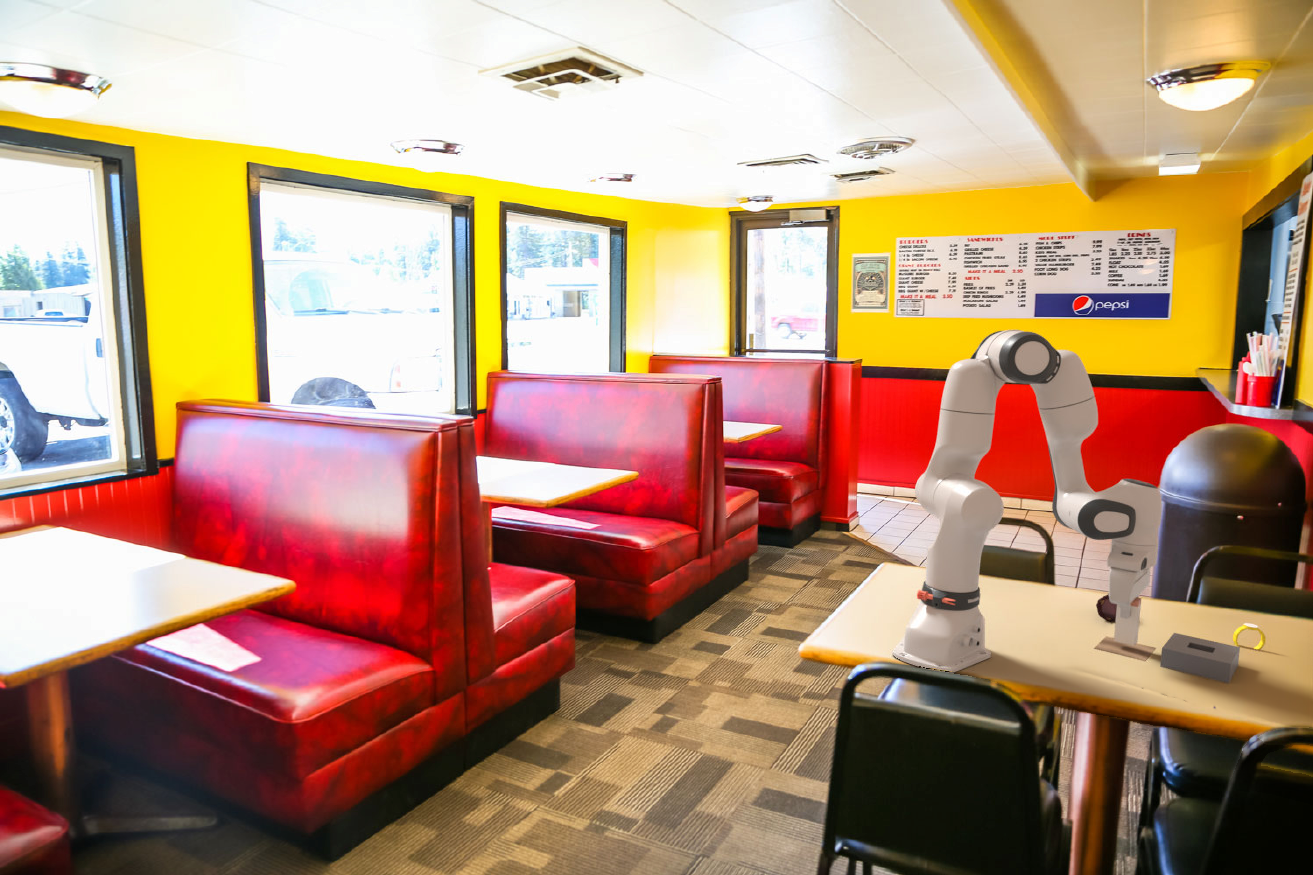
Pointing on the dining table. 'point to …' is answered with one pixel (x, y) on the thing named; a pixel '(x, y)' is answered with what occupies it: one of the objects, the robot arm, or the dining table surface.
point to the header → (1200, 657)
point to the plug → (1128, 624)
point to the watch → (1250, 627)
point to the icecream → (1106, 609)
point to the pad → (1125, 649)
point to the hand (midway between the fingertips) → (1127, 614)
